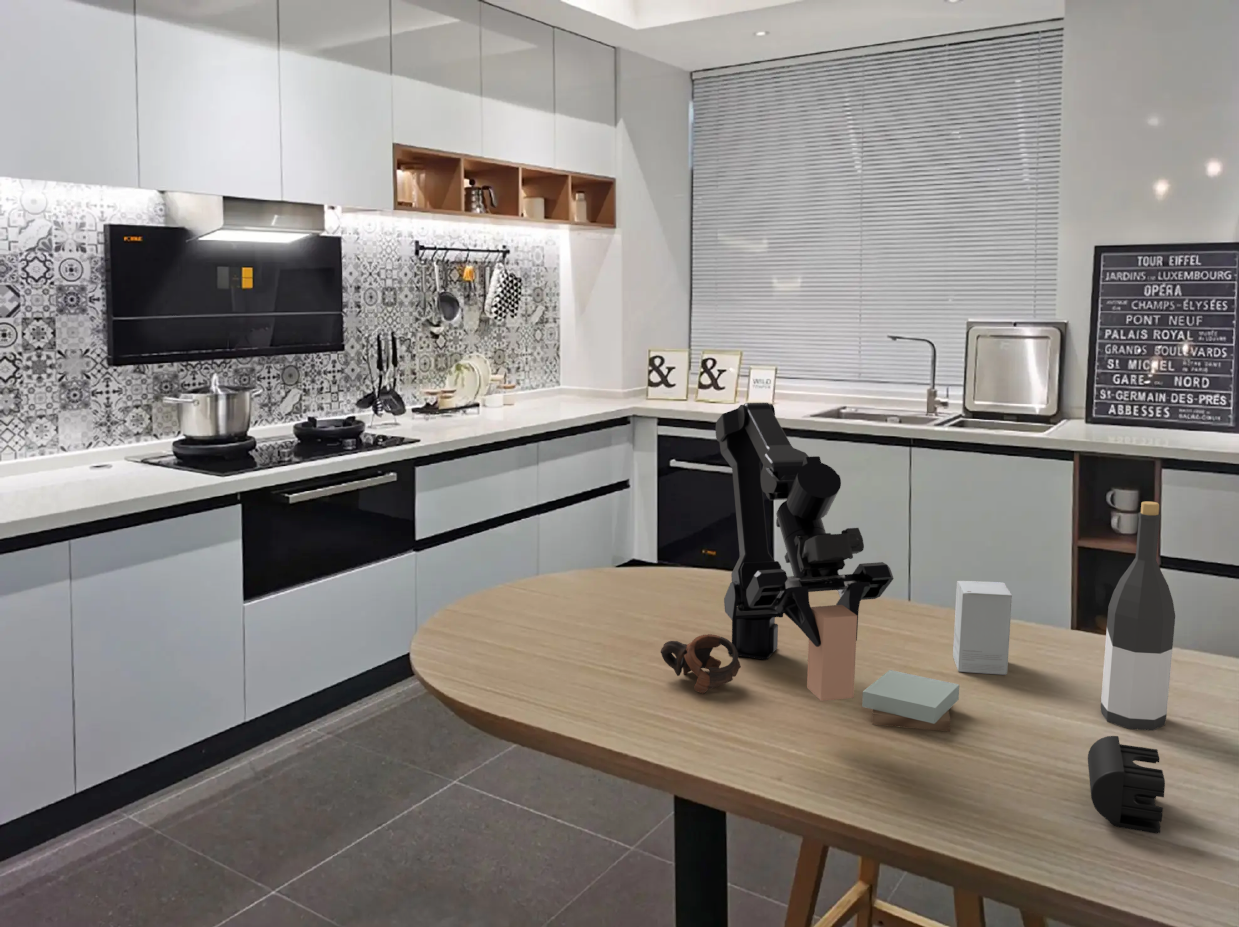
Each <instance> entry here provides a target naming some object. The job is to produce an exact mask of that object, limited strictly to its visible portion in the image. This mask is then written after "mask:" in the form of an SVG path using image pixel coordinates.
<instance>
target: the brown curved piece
mask: <svg viewBox="0 0 1239 927" xmlns="http://www.w3.org/2000/svg"><path fill="white" fill-rule="evenodd" d="M720 646H723V647H725V649H727V652H728V651H729V652H731V654H732V655H731V657H732V659H731V662H730V663H729V664H727V665H725V666H722V667H720V666H721V664H722V661H721V660H720V659H717V658H715V657H713V656H712V655H711V653H712V651H713V650H714V648H718V647H720ZM660 649H661V650H660V654H661V657H662V659H663V660H664V662H665V664H667V665H668V666H669V667H670V668H671V669H673V670H674V672H675V674H676V676H677V677H679V676H680V675H681V673H682V672H683V673H682V674H683V675H687V674H688V673H690V672H693V674H694V675H695V676H696V677H697V678H696V682H695V684H694V685H693V686H694V691H696V692H697V693H700V694H706V692H707V691H708V690H709V689H715V688H718V687H721V686H724V685H726V684H727V683H729V682H732V681H733V679H734V678H733V677H736V676H737V674H738V672H739V670H740V668H741V662H740V660H739V656H738V652H737V649H736V647H735V646H734V645H733V643H732V641H730V640H729V639H727V638H726V637H723V636H720V635H716V634H711V633H710V634H709V633H708V634H702V635H699V636H697V637H694V639H693V640H692V641H691V642H689V643H688V644H687V643H682V642H681V641H678V640H669V641H666V642H665V643H664V644H663V646H662V647H661V648H660ZM703 669H705V670H708V671H709V672H708V671H707V672H706V671H704V670H703ZM680 677H681V676H680Z"/></svg>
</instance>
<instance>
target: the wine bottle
mask: <svg viewBox="0 0 1239 927" xmlns="http://www.w3.org/2000/svg"><path fill="white" fill-rule="evenodd" d="M1140 506H1141V507H1140V511H1139V512H1138V514H1137V517H1138V524H1137V536H1136V547H1135V549H1136V550H1135V558H1134V559H1133V561H1132V562H1131V563H1130V565H1129V566H1128V567H1127V569H1126V571H1124V573H1123V574H1122V575H1121V577H1120V578H1119V580H1118V582H1117V584H1116V586H1115V588H1114V590H1113V591H1112V594H1111V598H1110V601H1109V604H1108V607H1107V609H1108V610H1107V620H1106V622H1107V623H1106V632H1105V633H1106V634H1105V647H1104V658H1103V671H1102V672H1103V673H1102V684H1101V686H1102V687H1101V698H1100V713H1101V715H1102V717H1104V719H1105V720H1106V722H1108V723H1110V724H1114V725H1116V726H1119V727H1122V728H1124V729H1128V730H1137V729H1138V730H1141V731H1154V730H1157V729H1158V728H1159V729H1160V728H1161V727H1164V726H1165V725H1166V720H1167V716H1168V715H1167V713H1168V704H1169V703H1168V702H1169V691H1170V690H1169V689H1170V680H1171V669H1172V659H1173V646H1174V635H1175V634H1174V633H1175V624H1176V611H1175V605H1174V600H1173V597H1172V593H1171V590H1170V587H1169V584H1168V582H1167V580H1166V578H1165V576H1164V574H1163V572H1162V569H1161V568H1160V565H1159V564H1158V561H1157V554H1158V553H1157V551H1158V542H1159V540H1158V539H1159V530H1160V520H1161V518H1162V515H1161V513H1159V512H1160V504H1159V503H1158V502H1157V501H1156V502H1155V501H1145V500H1144V501H1142V502H1141V505H1140ZM1163 725H1164V726H1163Z"/></svg>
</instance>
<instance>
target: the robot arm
mask: <svg viewBox="0 0 1239 927" xmlns="http://www.w3.org/2000/svg"><path fill="white" fill-rule="evenodd" d="M775 411H776V410H775V406H774V405H773V404H771V403H769V402H745V403H744V404H740V405H739V406H738V407H737V408H734V409H732V410H730V411H727V412H724V413H722V414H721V415H720V416H719V418H718V419H717V420H716V421H715V422H716V423H715V439H716V441H717V442H718V443H719V448H720V449H719V450H720V455H721V456H722V458H724V459H725V461H726V463H728V465H729V466H730V468H731V471H732V483H733V493H734V504H735V505H734V506H735V516H736V526H737V538H738V539H737V540H738V541H737V542H738V550H739V558H738V560H737V562H736V564H735V566H734V568H733V570H732V572H731V575H730V576H731V582H730V583H729V586H728V588H727V591H726V593H725V595H724V597H723V603H724V604H723V605H724V613H725V614H726V615H727V616H728V618H730V620H731V621H732V622H731V643H733V645H734V646H735V647H736V649H737V652H738V657H743V658H751V659H758V660H765V661H766V660H768V659H769V658H770V657H771V656H772V655H773V653H775V651H776V650H778V647H779V646H778V642H779V640H778V638H779V637H778V636H779V625H778V623H776V620H775V619H776V618H783V617H784V615H785V616H786V617H787V618H789V619H790V620H791V621H792V623H794V624H795V625H796V626H797V627H798V628H799V629H800V630H801V632H803V634H804V635H805V636H806V637H807V638H808V640H809V639H810V640H811V642H812V643H813V644H814V645H815V646H816V647H819V646H820V645H821V640H820V635H819V630H818V627H817V624H816V621H815V618H814V615H813V613H812V610H811V607H812V606H811V605H810V598H809V597H810V595H809V593H813V592H826V591H837V593H838V595H839V599H838V601H837V602H836V604H835V605H843V606H845V607H846V608H847V609H849V610H850V611H851V612H853V613H854V614H856V615H857V632H856V642H857V641H858V627H859V610H860V604H861V601H865V600H876V599H877V598H880V597H881V596H882V595H883V593H884V592H885V591H886V589H887V588H888V587H889V586H890V584H891V583H892V581H894V576H893V573H892V569H891V567H890V566H889V565H888V564H887V563H885V562H883V561H879V562H865V563H859V564H858V565H857V567H856V568H855V570H853V572H852V573H848V574H839V570H840V571H841V570H843V569H844V568H845V566H846V563H845V560H848V559H849V560H852V559H853V558H854V555H855V554H859V553H861V552H863V551H864V549H865V545H864V538H863V536H862V533H861V531H860V528H859V527H850V528H846V529H843V530H841V533H831V532H826V529H825V526H824V522H823V518H825V516H827V515H828V513H829V511H830V509H831V507H832V505H833V503H834V501H835V498H836V497H837V495H838V493H839V491H840V489H841V486H842V480H841V476H840V475H839V474H838V473H837V471H836V469H834V468H833V467H831V466H830V465H828V464H825V463H823V462H822V461H821V457H820V455H819V456H815V455H813V456H812V455H811V456H809V455H808V454H807V453H806V452H805V451H802V450H799V449H797V448H795V447H793V446H792V444H791V441H790V440H789V439H788V438H789V437H787V435H786V433H785V431H784V429H783V428H782V425H781V424H780V422H779V421H778V419H777V417H776V412H775ZM761 463H762V465H763V466H762V469H761ZM764 493H765V495H766V497H767V499H768V500H769V501H783V502H782V503H781V504H780V505H779V507H778V509H777V511H776V522H775V526H776V527H777V528H780V532H781V536H782V539H783V544H784V545H785V549H786V553H785V554H784V559H785V563H787V564H790V566H791V567H790V568H791V571H792V574H793V575H789V576H788V574H787V571H785V570H784V569H782V565H781V563H780V561H776V560H775V559H774V557H773V556H772V555H771V554H770V551H769V544H768V533H767V522H766V511H765V501H764V499H765V498H764ZM784 500H785V501H784ZM727 654H728V655H731V656H732V654H731V652H729V651H728V650H727Z"/></svg>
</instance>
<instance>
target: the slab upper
mask: <svg viewBox="0 0 1239 927" xmlns="http://www.w3.org/2000/svg"><path fill="white" fill-rule="evenodd" d="M959 695H960V684H958V683H954V682H949V681H945V680H939V679H935V678H932V677H931V678H930V677H926V676H921V675H916V674H911V673H906V672H901V671H898V670H893V669H889V670H888V671H886V672H885V673H884V674H883V675H881V676H880V677H879V678H878V679H877V680H875V681H874V682H873V683H871V684H870V685H869V686H868V687H867V688H865V689H864V690H863V691H862V700H861V701H862V703H861V704H862V706H861V707H862V708H866V709H871V710H873V709H874V710H878V711H882V712H887V713H891V714H895V715H899V716H904V717H908V718H912V719H916V720H921V721H925V722H929V723H933V724H935V723H936V722H937V721H938V720H939V719H940V718H941V717H942V716H943V715H944V714H945V713H946V712H947V711H948V710H950V709H951V708H952V707H953V706H955V704H956V703H957V702H958V701H959V698H960V696H959Z"/></svg>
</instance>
